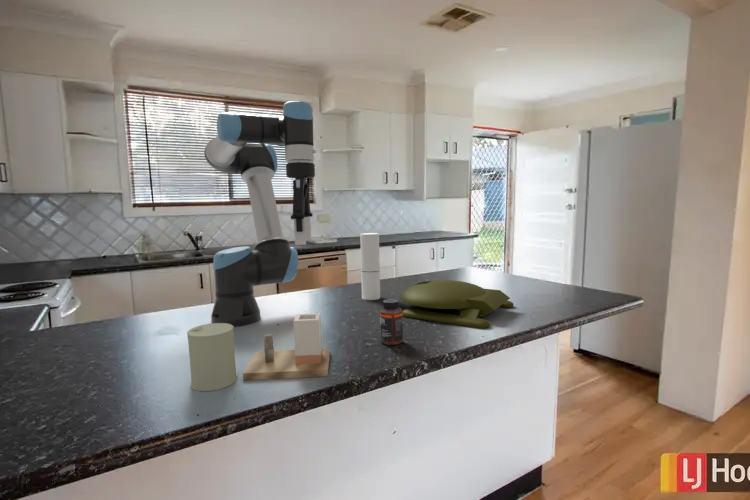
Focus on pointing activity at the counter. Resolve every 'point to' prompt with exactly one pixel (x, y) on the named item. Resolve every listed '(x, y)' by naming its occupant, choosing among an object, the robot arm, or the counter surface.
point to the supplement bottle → (391, 323)
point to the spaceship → (454, 302)
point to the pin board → (283, 364)
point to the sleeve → (308, 338)
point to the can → (212, 356)
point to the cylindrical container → (370, 266)
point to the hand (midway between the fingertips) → (303, 242)
